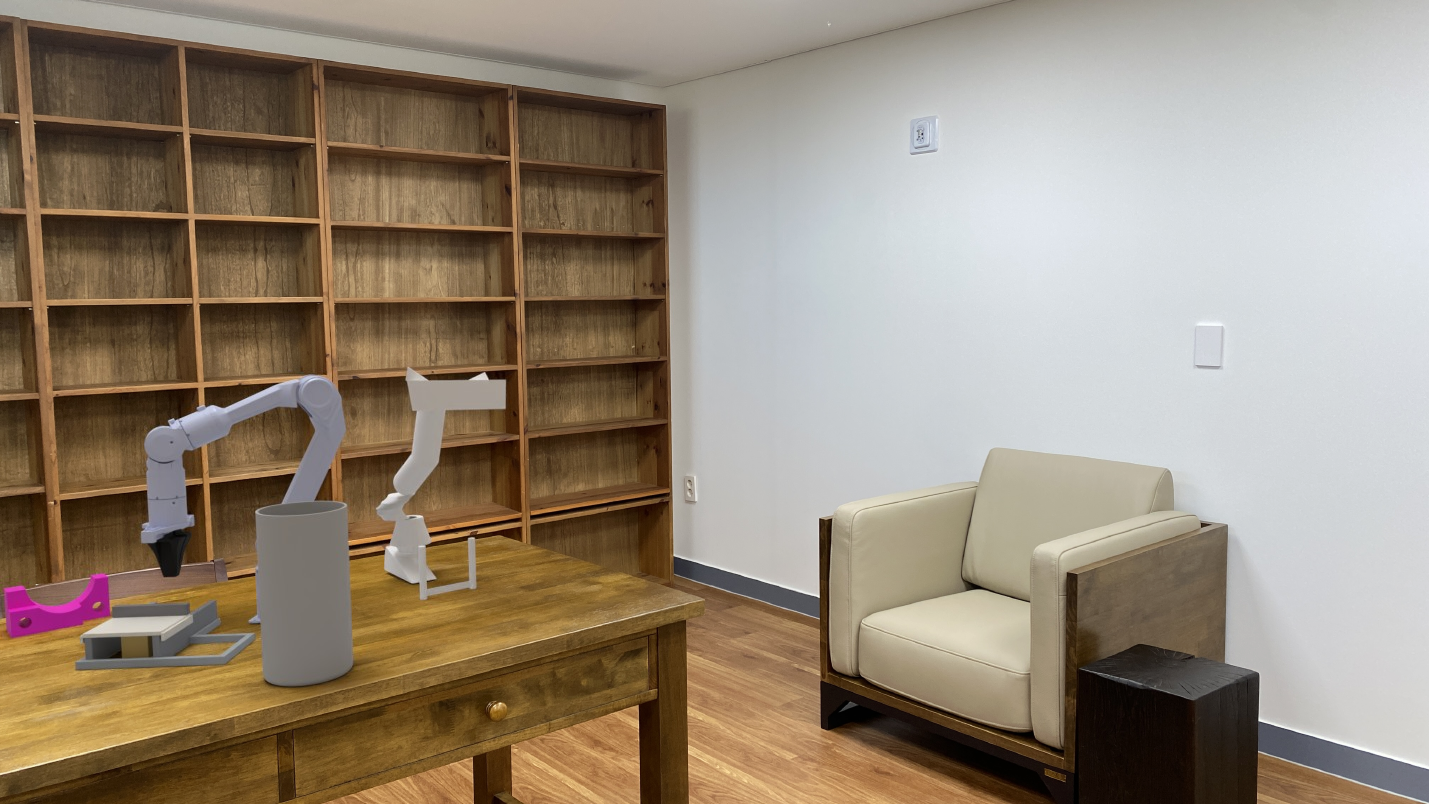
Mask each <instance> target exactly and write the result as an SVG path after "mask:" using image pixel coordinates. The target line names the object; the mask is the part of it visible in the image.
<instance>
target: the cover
mask: <svg viewBox="0 0 1429 804" xmlns="http://www.w3.org/2000/svg"><path fill="white" fill-rule="evenodd" d="M111 612H112V613H111V614H112V616H111V618H109V619H108V620H105V621H104V622H102V623H100V624H99V625H96V626H95V627H93V628H91V629H89V630H88V631H85V632H83V633H82V634H81V635H79V645H83V644H85V640H84V639H85V638H98V637H127V636H156V635H161V641H165V640H166V639H168V638H169V637H171V636H173V635H174V634H176V633H177V632H179V631H180V630H182V629H183V628H185V627H186V626H188V625H190V624H191V623H193V615H190V613H191V605H190V602H171V603H166V602H165V603H162V602H161V603H157V604H149V603H140V604H139V603H137V604H136V603H135V604H115V605H113V606H112V607H111Z"/></svg>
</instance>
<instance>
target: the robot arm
mask: <svg viewBox="0 0 1429 804" xmlns="http://www.w3.org/2000/svg"><path fill="white" fill-rule="evenodd" d="M342 403H343V402H342V396H341V394H340V392H339V391H338V388H337V387H336V385H335V384H334V382H333V381H332V380H330V379H329V378H327V377H325V376H321V375H316V374H307V375H304V376H301V377H300V378H299V379H297V378H295V379H291V380H287V381H284V382H283V381H282V382H280V383H278V384H275V385H272V386H270V387H268V388H266V389H264V390H261V391H259V392H256V393H255V394H252V395H250V396H248V397H247V398H244V399H242V400H240V401H237V402H235V403H233V404H231V405H229V406H227V407H219V406H217V405H214V404H213V405H212V404H210V405H209V406H206V405H204V404H202V405H199V406H197V407H196V411H195V412H193V413H190V414H188V415H186V416H183V417H181V418H178V419H176V420H175V418H172V419H169V420H167V422H168V424H169V426H167V425H159V426H157V427H155V428H153V429H151V430H150V431H149V432H148V433H147V435H146V437H145V438H144V439H145V440H144V443H143V446H144V450H145V453H146V455H147V458H146V469H147V470H146V474H145V475H146V491H147V510H148V512H147V513H148V522H145V523H142V524H141V529H143V530H142V531H140V543H141V544H147V546H148V547H149V548H150V549H151V550H152V552H153V554H154V556H155V557H156V560H157V563H158V565H159V568H160V569H159V570H160V571H161V575H162V577H163V578H176V577H179V576H180V573H181V569H182V565H183V560H184V559H183V558H184V554H185V552H186V548H187V546H188V544H189V541H190V540H191V538H192V531H182V530H184V529H186V528H190V527H191V528H192V527H194V526H195V515H194V514H188V506H187V504H188V503H187V486H186V470H185V467H183V454H184V452H185V451H194V450H196V449H198V448H201V447H203V446H205V445H208V444H210V443H212V442H214V441H217V440H219V439H221V438H224V437H226V436H228V435H229V433H230V431H231V429H232V426H233V425H235V424H238V423H239V422H242V421H244V420H245V421H246V420H247V419H249V418H253V417H255V416H257V415H260V414H263V413H264V412H267V411H271V410H273V409H275V408H279V407H280V408H281V407H282V408H294V409H295V408H298V405H299V406H300V407H301V409H302V410H303V411H304V412H306V414H307V415H308V417H309V420H310V422H311V425H312V426H313V428H314V433H313V435H312V437H311V440H310V442H309V444H308V446H307V448H306V451H305V453H304V454H303V456H302V459H301V461H300V463H299V465H298V468H297V470H296V471H295V473H294V476H293V478H292V480H291V482H290V484H289V487H288V489H287V491H286V493H285V496H284V498H283V500H282V502H281V504H284V503H293V502H305V501H316V497H317V496H318V493H319V491H320V489H321V487H322V485H323V482H324V480H325V478H326V476H327V474H328V473H329V472H328V471H329V469H330V468H331V465H332V463H333V460H334V458H335V456H336V454H337V452H338V450H339V447H340V446H341V443H342V441H343V439H344V437H345V435H346V430H347V427H346V420H345V416H344V409H343V404H342ZM254 543H255V545H254V547H255V551H256V553H257V538H256V540H255V542H254ZM254 571H255V591H256V592H255V593H256V613H257V614H255V615H254V616H253V617H252V618H250V619H249V620H248V624H261V623H260V601H259V580H258V564H257V565H256V566H255V569H254Z"/></svg>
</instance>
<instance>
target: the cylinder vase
mask: <svg viewBox="0 0 1429 804" xmlns="http://www.w3.org/2000/svg"><path fill="white" fill-rule="evenodd" d="M254 514H255V533H256V539H257V552H256V554H257V555H256V556H257V558H256V559H257V565H258V580H259V601H260V623H259V624H260V638H261V639H260V640H261V660H262V661H261V663H262V665H261V666H262V675H263V679H264V680H265V681H267V682H268V683H269V684H272V685H276V686H279V687H280V686H281V687H306V686H312V685H318V684H322V683H327V682H330V681H334V680H335V679H337V678H340V677H343V676H344V675H346V674H347V673H348V672H349V671H350V670H351V669H352V667H353V665H354V648H353V647H354V646H353V642H354V641H353V623H352V621H353V620H352V619H353V616H352V600H351V599H352V598H351V595H352V594H351V574H350V571H351V569H350V547H349V522H348V504H347V503H345V502H342V501H335V500H314V501H305V502H293V503H284V504H282V503H279V504H273V505H269V506H264V507H261V508H258V509H256V510H255V513H254Z"/></svg>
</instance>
